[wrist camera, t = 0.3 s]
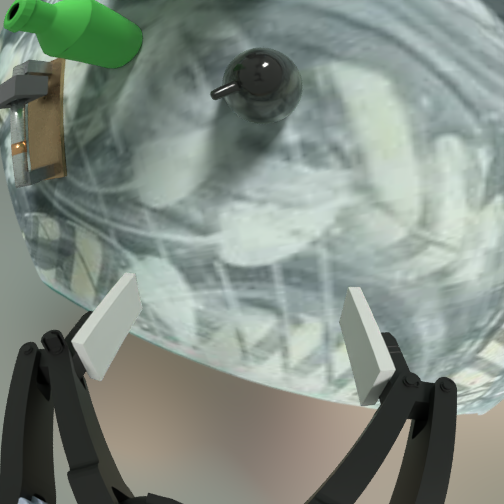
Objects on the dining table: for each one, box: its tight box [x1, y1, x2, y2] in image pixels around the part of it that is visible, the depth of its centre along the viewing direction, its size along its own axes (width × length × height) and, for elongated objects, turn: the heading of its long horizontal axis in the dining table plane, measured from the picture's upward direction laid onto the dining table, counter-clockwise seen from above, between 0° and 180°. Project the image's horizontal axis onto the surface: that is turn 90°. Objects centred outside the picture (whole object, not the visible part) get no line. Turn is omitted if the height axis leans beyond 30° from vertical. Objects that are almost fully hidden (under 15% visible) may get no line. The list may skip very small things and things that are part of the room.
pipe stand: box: [11, 58, 67, 188], centre depth 32 cm, size 24×10×10 cm, turn 179°
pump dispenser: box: [210, 48, 302, 124], centre depth 28 cm, size 10×10×15 cm
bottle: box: [4, 0, 143, 68], centre depth 20 cm, size 9×9×25 cm
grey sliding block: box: [0, 75, 48, 109], centre depth 27 cm, size 4×8×8 cm, turn 90°
